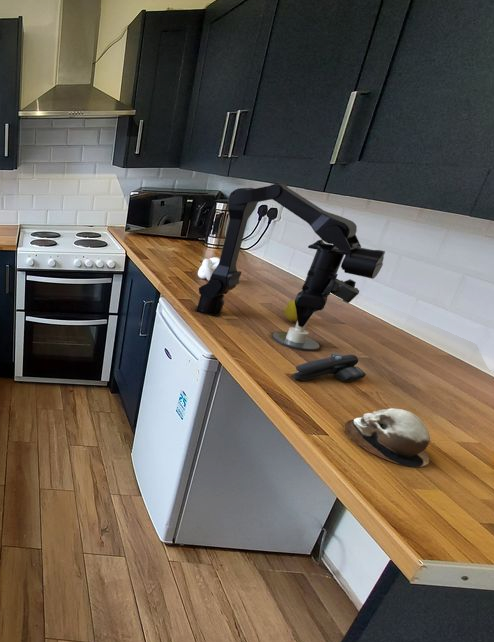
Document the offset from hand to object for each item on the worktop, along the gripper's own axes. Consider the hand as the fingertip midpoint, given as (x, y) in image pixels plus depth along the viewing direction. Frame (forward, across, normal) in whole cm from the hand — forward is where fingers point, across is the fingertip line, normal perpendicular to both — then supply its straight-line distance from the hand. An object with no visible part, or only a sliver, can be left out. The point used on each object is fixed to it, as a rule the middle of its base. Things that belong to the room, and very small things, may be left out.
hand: (302, 321), depth 112 cm
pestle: (+6, 0, 0) cm, 6 cm away
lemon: (+7, +17, +3) cm, 18 cm away
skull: (+7, -41, -19) cm, 46 cm away
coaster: (+6, 0, 0) cm, 6 cm away
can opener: (+7, -19, -8) cm, 22 cm away
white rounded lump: (+2, +47, +35) cm, 59 cm away
